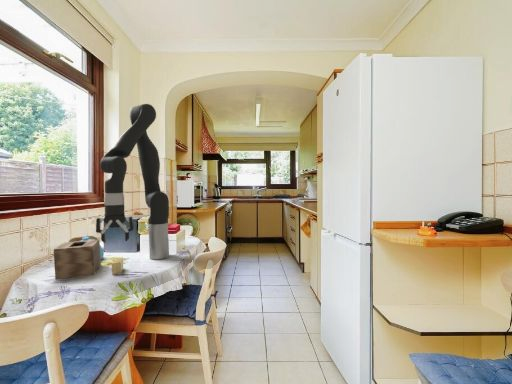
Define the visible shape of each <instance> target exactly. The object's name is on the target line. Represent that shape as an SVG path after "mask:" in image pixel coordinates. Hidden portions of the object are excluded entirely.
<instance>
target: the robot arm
mask: <svg viewBox="0 0 512 384" xmlns="http://www.w3.org/2000/svg"><path fill="white" fill-rule="evenodd" d="M156 118H157V111H156V109H155V107H154V106H153V105H152V104H149V103H143V104H138V105H135V106H132V107H131V108H130V109H129V120H130V124H131V126H129V128H127V129H126V130H125V131H124V132H123V133H122V134H121V135H120V137H118V140H117V141H116V143H115V144H114V146H113V147H112V148H111V149H110V150H108V152H106V153H105V155H104V156H102V158H101V160H100V161H99V168H100V170H101V171H102V172H103V173H106V174H111V177H110V178H108V179H106V180H105V181H104V201H103V203H104V204H103V205H104V217H97V218H96V220H95V232H96V233H98V234H100V237H101V242H103V243H106V242H107V239H106V238H107V236H106V235H107V233H106V231H107V230H108V229H109V228H110V229H113V228H116V229H117V228H121V229H122V230H124V232H125V233H124V239H125V242H128V240H129V239H130V232H131V231H134V219H133V216H125V214H126V213H125V196H124V182H125V177H126V173H127V169H128V168H127V167H128V164H127V161H126V160H125V158H128V157H129V156H130V155H131V153H132V152H133V150H134V148H135V147H136V148H137V152H138V160H139V165H140V170H141V175H142V180H143V186H144V198H145V199H144V200H145V204H146V206H147V207H148V208H149V210H150V213H149V217H148V219H147V223H148V224H147V225H148V248H149V250H148V251H149V259H150V260H161V259H162V260H163V259H167V258H168V259H169V258H170V245H169V244H170V242H169V240H170V239H169V223H168V222H169V216H170V201H169V197H168V195H167V193H165V192H164V191H161V188H160V187H161V186H160V180H159V177H160V171H161V170H160V169H161V166H160V165H161V163H160V162H161V161H160V156H159V151H158V149H157V147H156V146H155V144H154V142H152V140H151V138H150V137H149V135H148V132H147V130H148V129H149V127H151V125H152V124H154V122H155V121H156ZM126 221H127V222H128V223H129V227H128V226H127V225H126V224H125V223H124V222H126ZM103 222H104V223H105V224H106V225H105V226H104V227H103V229H101V225H102V223H103Z"/></svg>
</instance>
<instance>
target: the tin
mask: <svg viewBox="0 0 512 384" xmlns="http://www.w3.org/2000/svg"><path fill="white" fill-rule="evenodd" d="M84 237H89V240H99V238H97V237H96V236H94V235H87V236H78V237H73V238H71V239H69V240H68V242H74V241H81V240H82V238H84Z"/></svg>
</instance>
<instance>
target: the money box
mask: <svg viewBox="0 0 512 384" xmlns="http://www.w3.org/2000/svg"><path fill="white" fill-rule="evenodd" d="M100 245H101V243H100V239H98V240H86V241H74V242H69V241H64V242H63V243H61V244H60V245H58V246H56V247H55V248H54V249H53V260H54V261H53V263H54V279H65V278H74V277H83V276H90V275H92V276H93V275H95V274H96V273H97V271H98V270H99V268H100V267H101V260H100Z"/></svg>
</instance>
